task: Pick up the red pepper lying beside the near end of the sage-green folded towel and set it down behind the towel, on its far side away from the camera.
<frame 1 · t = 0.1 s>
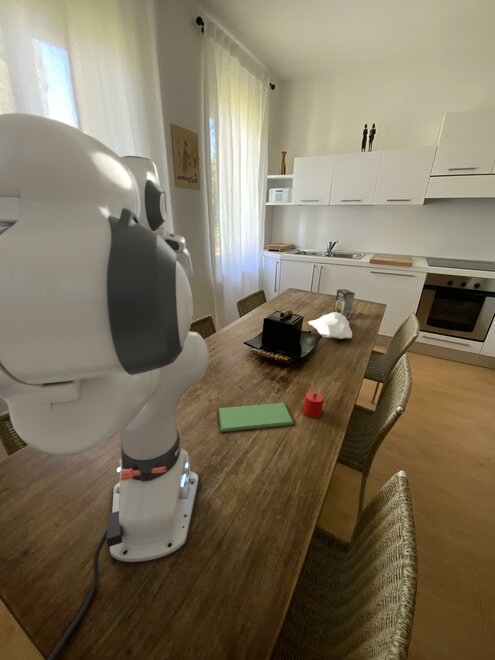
hand: (153, 296, 71), 39 cm above the table, tool pointing down, fingers open, 8 cm apart
coffee box: (341, 316, 174), on the table
towel: (254, 416, 88), on the table
pepper: (312, 411, 91), on the table
crumpled cloth: (329, 333, 150), on the table
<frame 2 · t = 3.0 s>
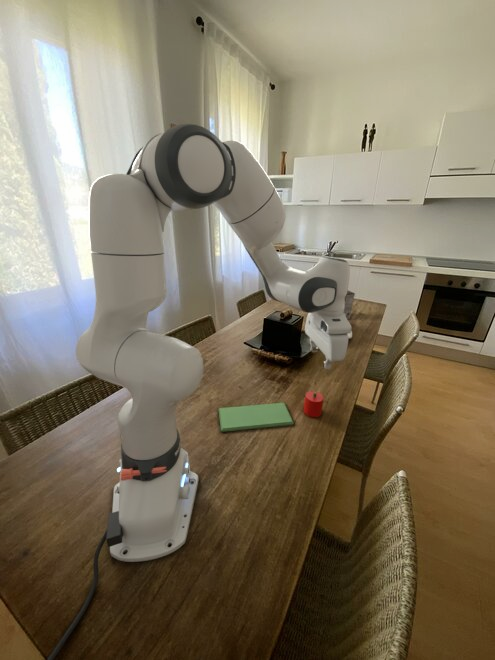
hand: (319, 359, 83), 19 cm above the table, tool pointing down, fingers open, 8 cm apart
nothing on the table moved.
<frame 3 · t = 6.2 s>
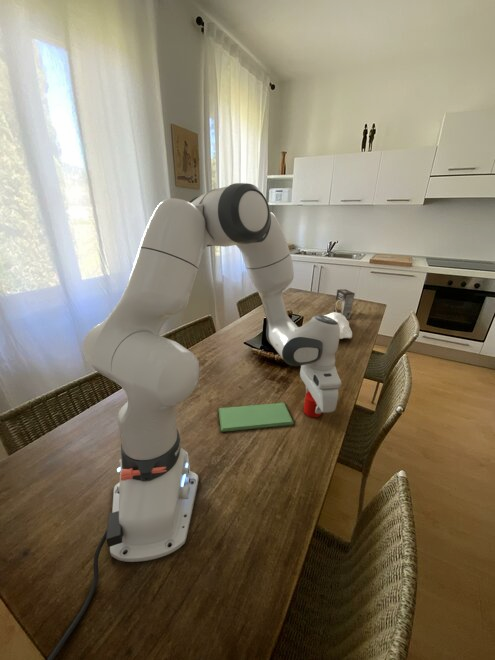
hand: (313, 405, 90), 3 cm above the table, tool pointing down, fingers closed on pepper, 5 cm apart
pepper: (312, 411, 91), on the table, touching gripper
everything else where it was.
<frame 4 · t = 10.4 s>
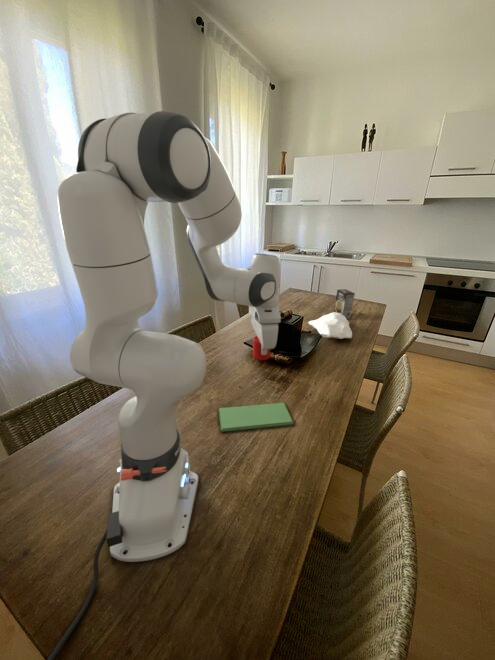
hand: (261, 348, 90), 19 cm above the table, tool pointing down, fingers closed on pepper, 5 cm apart
pepper: (261, 355, 91), point 16 cm above the table, touching gripper
everything else where it was.
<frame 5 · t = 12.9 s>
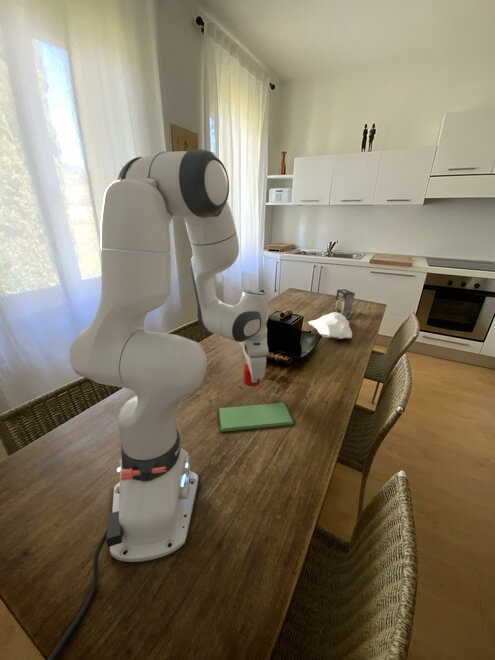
hand: (251, 375, 96), 7 cm above the table, tool pointing down, fingers closed on pepper, 5 cm apart
pepper: (251, 381, 97), point 5 cm above the table, touching gripper
everything else where it was.
when the fingers open (2 cm above the table, at t = 14.7 s): pepper stays where it is, on the table.
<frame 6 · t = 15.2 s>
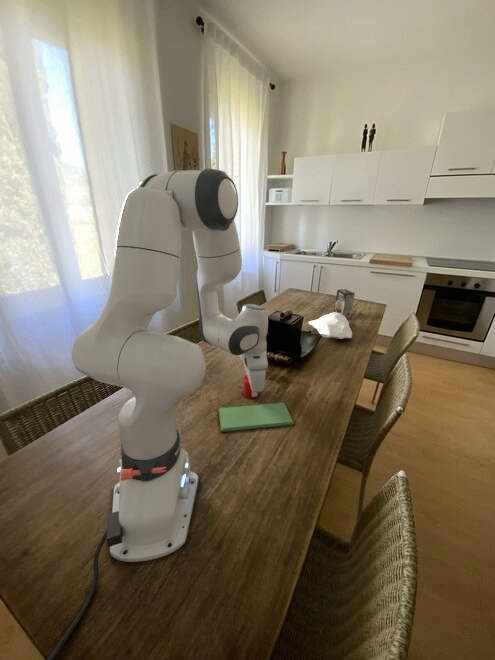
hand: (251, 387, 97), 3 cm above the table, tool pointing down, fingers open, 8 cm apart
pepper: (251, 393, 99), on the table
everything else where it was.
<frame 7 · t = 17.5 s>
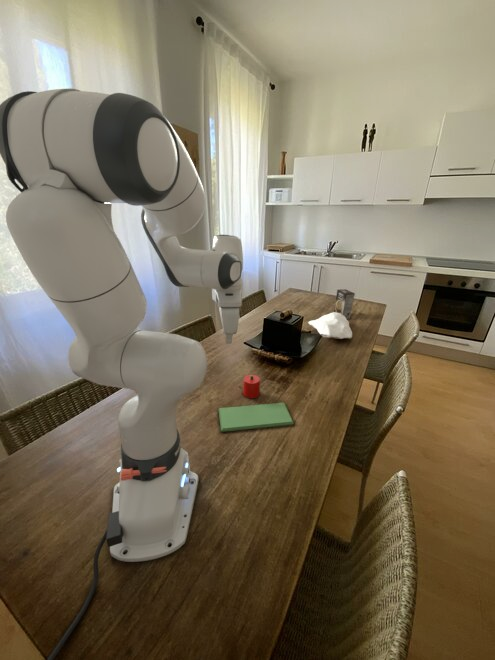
hand: (227, 336, 87), 23 cm above the table, tool pointing down, fingers open, 8 cm apart
nothing on the table moved.
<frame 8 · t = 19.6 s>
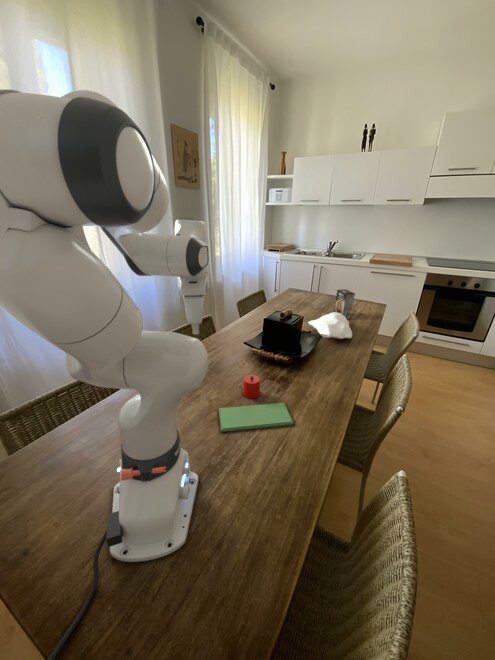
hand: (195, 327, 83), 27 cm above the table, tool pointing down, fingers open, 8 cm apart
nothing on the table moved.
at the end: pepper inside the target area (0.3 cm from its centre), on the table; pepper tilted 0°; pepper touching table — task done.
